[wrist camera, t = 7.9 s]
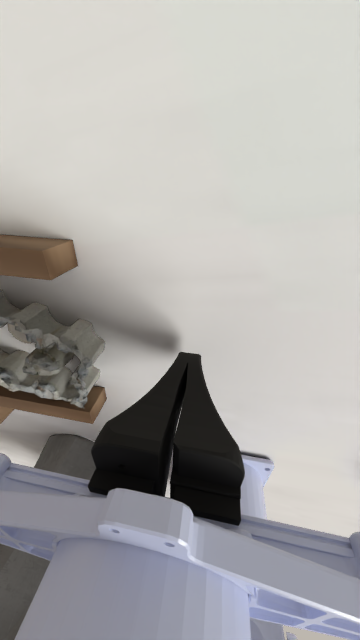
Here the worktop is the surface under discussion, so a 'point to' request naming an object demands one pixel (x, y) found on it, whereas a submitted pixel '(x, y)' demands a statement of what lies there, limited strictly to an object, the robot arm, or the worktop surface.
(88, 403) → the walnut bracket
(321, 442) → the worktop surface
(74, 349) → the egg carton
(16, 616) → the coffeepot
